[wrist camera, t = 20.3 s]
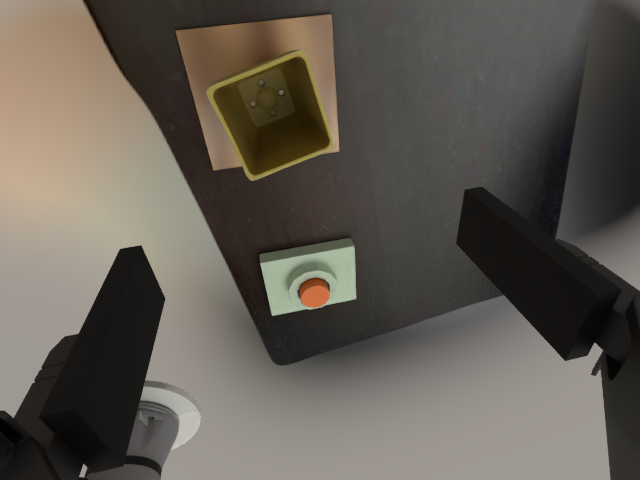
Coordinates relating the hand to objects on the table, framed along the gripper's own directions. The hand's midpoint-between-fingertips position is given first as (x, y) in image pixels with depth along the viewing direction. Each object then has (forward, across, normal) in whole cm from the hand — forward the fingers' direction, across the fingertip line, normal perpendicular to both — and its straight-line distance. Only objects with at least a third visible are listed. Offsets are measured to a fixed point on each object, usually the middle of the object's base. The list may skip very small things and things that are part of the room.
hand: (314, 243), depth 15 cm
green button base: (+29, +2, -25) cm, 38 cm away
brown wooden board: (+29, 0, 0) cm, 29 cm away
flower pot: (+28, 0, 0) cm, 28 cm away
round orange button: (+25, +2, -25) cm, 35 cm away
